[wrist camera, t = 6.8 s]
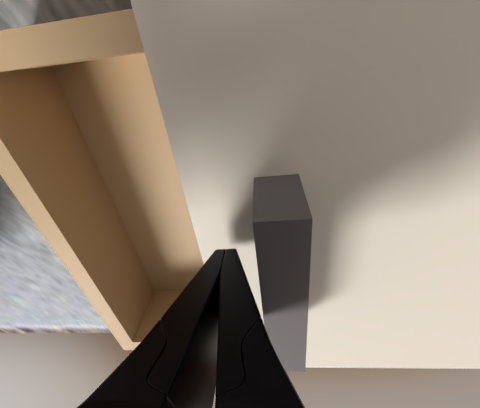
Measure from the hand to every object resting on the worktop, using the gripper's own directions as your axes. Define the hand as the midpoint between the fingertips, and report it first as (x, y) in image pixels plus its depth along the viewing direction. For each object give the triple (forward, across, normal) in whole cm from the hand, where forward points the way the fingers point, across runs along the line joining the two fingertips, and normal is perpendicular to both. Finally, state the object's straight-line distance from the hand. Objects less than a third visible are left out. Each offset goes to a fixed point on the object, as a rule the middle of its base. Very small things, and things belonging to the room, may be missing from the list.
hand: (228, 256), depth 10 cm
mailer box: (+7, +2, +1) cm, 7 cm away
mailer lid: (+1, -6, +1) cm, 6 cm away
